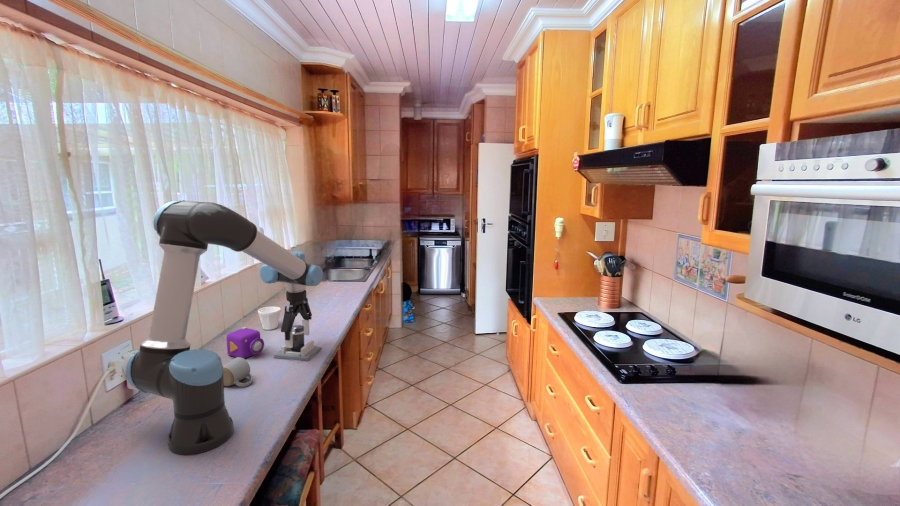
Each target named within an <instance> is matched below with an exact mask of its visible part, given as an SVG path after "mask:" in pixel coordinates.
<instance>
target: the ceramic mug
mask: <svg viewBox="0 0 900 506" xmlns="http://www.w3.org/2000/svg"><path fill="white" fill-rule="evenodd" d="M222 366H223V381H224V387H231V386H233V385H236V386H237V387H240V388H241V387H243V388H245V387H248V386H250V385H251V384H252V382H253V375H252V373H251V366H250V364H249V362H248V361H247V360H246V358H244V359H243V358H241V357H234V358H233V359H231V361H228V362H227V363H226V364H224V365H222ZM247 377H248V378H249V380H250V381H248V382H241V381H242V380H244V379H245V378H247Z"/></svg>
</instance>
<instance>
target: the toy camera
mask: <svg viewBox="0 0 900 506" xmlns="http://www.w3.org/2000/svg"><path fill="white" fill-rule="evenodd" d="M264 347H265V341H264V339H263V338H262V337H261V332H260V331H259V330H256V329H252V328H248V327H247V326H243V327H241V328H239V329H237V330H235V331H231V332H229V333H227V334H226V352H227V355H229V356H230V357H233V358H237V357H241V358H243V359H246V358H249V357H251V356H253V355H259V354H260V353H261V352H262V351H263V349H264Z"/></svg>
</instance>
